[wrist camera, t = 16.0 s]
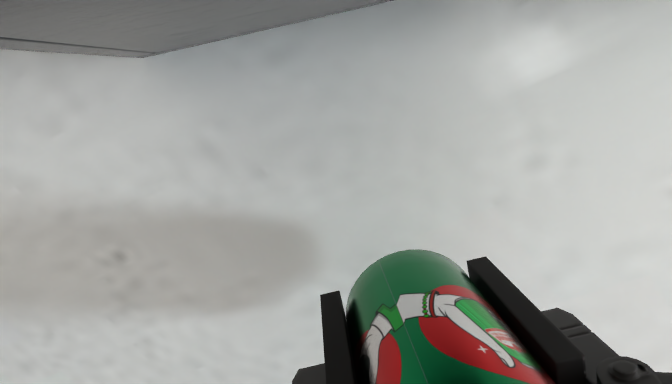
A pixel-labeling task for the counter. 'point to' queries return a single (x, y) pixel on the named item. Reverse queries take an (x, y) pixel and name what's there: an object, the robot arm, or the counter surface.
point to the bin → (148, 23)
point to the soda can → (431, 327)
